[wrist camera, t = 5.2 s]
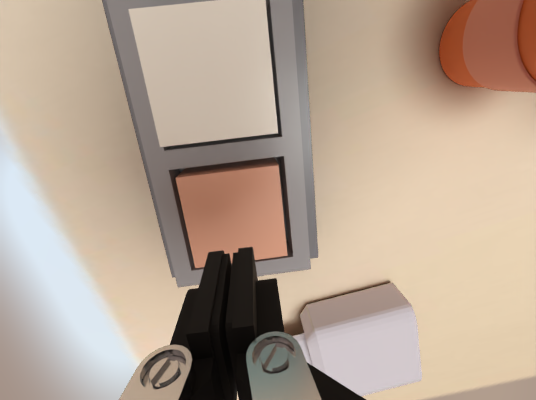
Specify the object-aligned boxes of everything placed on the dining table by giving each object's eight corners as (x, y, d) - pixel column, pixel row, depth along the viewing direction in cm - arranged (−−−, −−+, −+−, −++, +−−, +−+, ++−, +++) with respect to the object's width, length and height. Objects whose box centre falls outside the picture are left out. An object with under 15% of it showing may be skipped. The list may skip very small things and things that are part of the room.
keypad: (82, -155, 17) (8, -273, 12) (282, -170, 17) (298, -291, 12) (180, 258, 26) (163, 297, 20) (310, 241, 26) (326, 274, 21)
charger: (245, 315, 28) (389, 278, 28) (267, 380, 31) (397, 346, 31) (245, 354, 24) (416, 310, 24) (271, 425, 27) (423, 386, 27)
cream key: (149, 26, 16) (128, 9, 13) (261, 14, 16) (265, -5, 13) (173, 140, 18) (160, 147, 15) (273, 129, 18) (278, 133, 15)
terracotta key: (185, 168, 20) (175, 178, 17) (273, 157, 20) (278, 165, 18) (201, 247, 22) (195, 268, 19) (282, 236, 22) (287, 255, 20)
